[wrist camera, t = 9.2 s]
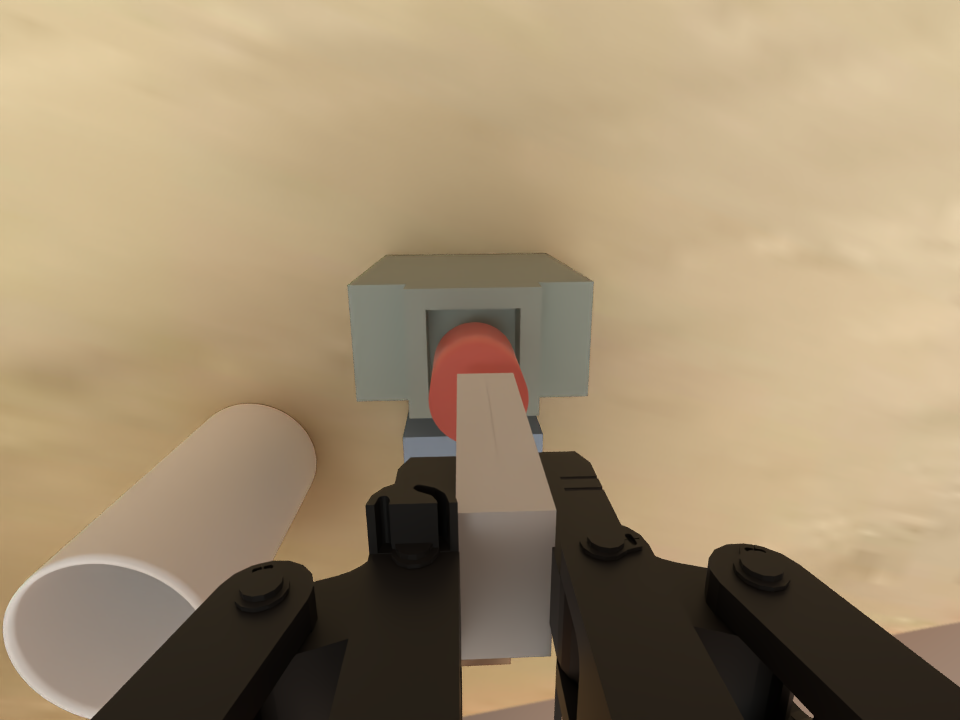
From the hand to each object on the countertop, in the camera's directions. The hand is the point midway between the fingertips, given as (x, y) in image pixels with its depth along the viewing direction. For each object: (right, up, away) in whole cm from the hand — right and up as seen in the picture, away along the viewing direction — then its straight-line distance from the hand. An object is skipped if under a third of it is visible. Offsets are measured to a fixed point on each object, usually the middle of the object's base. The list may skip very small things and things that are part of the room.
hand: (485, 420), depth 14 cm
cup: (-15, -5, +22) cm, 28 cm away
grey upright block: (-1, +6, +19) cm, 20 cm away
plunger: (0, +2, +5) cm, 6 cm away
